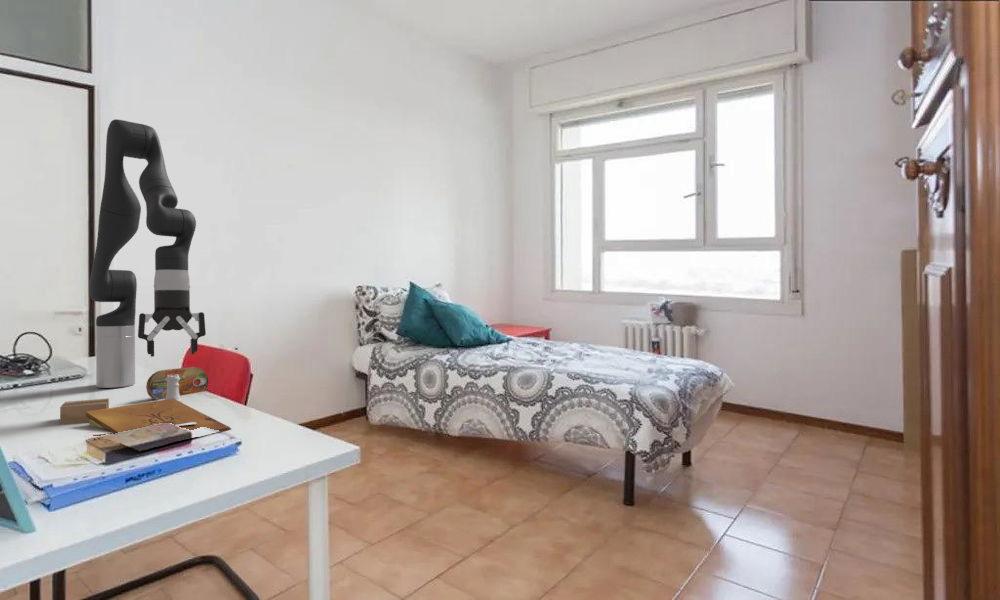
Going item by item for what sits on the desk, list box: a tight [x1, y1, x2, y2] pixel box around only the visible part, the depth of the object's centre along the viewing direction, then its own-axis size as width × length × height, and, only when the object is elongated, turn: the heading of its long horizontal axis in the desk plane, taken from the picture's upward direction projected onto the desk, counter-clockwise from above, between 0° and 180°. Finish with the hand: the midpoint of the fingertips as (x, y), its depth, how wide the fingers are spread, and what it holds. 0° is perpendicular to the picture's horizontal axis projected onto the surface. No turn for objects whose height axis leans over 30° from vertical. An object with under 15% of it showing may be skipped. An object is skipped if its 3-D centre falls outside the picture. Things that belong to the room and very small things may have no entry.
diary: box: [85, 399, 232, 436], centre depth 120 cm, size 23×19×6 cm
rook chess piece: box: [164, 374, 184, 403], centre depth 139 cm, size 4×4×8 cm
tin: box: [145, 366, 209, 401], centre depth 151 cm, size 15×3×8 cm, turn 144°
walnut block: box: [59, 397, 110, 426], centre depth 125 cm, size 8×8×4 cm
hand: (172, 355), depth 139 cm, fingers open, 8 cm apart
